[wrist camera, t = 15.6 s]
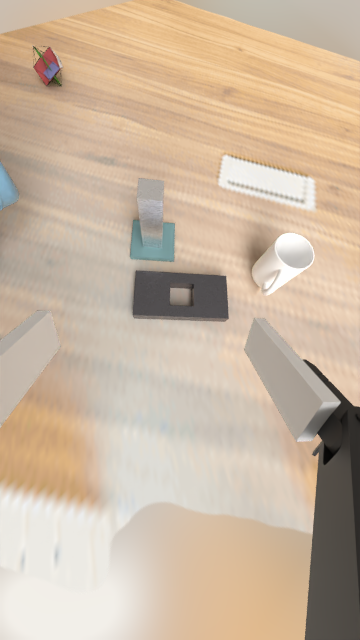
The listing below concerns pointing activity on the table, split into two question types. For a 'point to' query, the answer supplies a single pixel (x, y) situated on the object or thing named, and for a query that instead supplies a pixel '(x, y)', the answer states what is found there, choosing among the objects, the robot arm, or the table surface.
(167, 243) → the teal mat
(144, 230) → the steel peg
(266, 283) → the mug
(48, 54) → the geometric puzzle
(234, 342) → the table surface
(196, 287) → the block
